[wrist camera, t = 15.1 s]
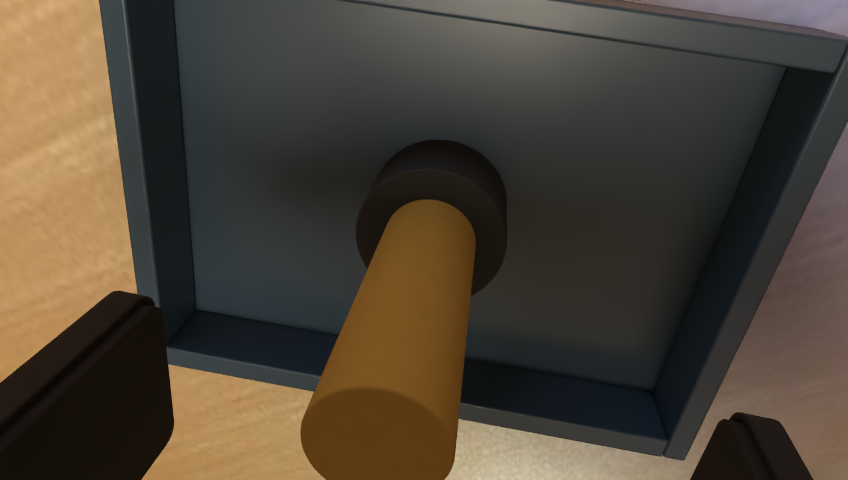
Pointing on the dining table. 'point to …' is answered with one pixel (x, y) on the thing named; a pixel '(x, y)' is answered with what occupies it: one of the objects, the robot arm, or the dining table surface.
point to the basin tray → (515, 163)
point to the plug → (409, 317)
